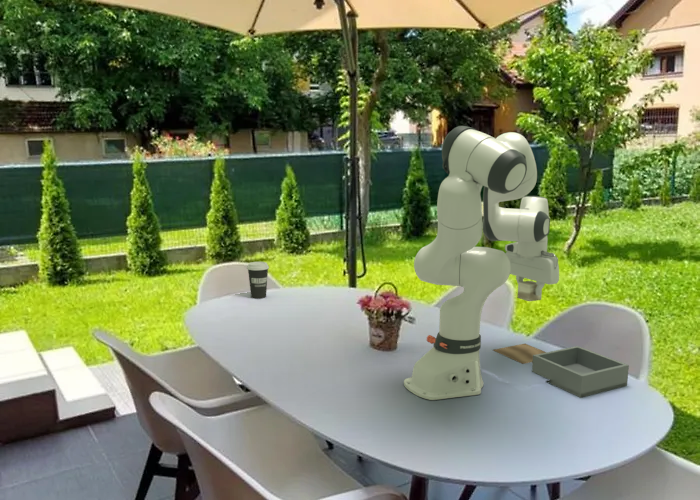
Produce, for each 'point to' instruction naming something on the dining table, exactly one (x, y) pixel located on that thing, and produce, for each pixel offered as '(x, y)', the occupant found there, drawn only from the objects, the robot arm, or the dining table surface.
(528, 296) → the cream block
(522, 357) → the walnut board
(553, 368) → the bin
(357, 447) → the dining table surface
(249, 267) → the coffee cup
